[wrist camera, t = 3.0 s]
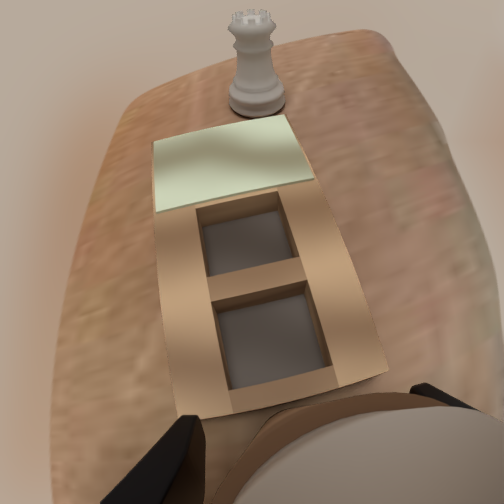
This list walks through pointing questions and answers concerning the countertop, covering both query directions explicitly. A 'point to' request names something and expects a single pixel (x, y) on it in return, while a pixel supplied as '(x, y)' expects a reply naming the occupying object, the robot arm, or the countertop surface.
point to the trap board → (253, 273)
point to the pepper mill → (371, 455)
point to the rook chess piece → (254, 67)
